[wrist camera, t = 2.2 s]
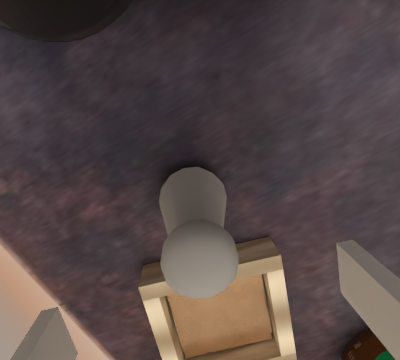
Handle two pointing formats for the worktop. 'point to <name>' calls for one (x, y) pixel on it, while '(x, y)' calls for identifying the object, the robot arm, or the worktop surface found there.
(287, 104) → the worktop surface
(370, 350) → the food container
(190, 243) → the salt shaker
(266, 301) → the beige square tray
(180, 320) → the plate
